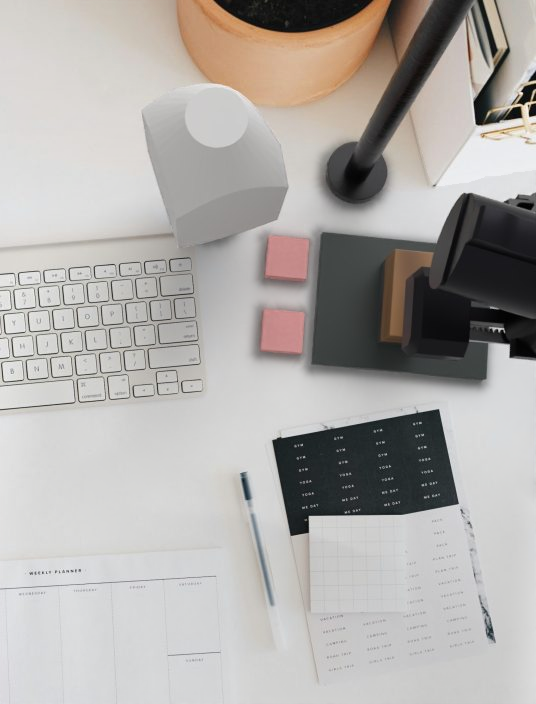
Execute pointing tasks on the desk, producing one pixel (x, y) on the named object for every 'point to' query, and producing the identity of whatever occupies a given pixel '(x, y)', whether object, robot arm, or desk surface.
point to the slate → (371, 312)
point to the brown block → (396, 292)
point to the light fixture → (213, 162)
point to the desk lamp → (394, 105)
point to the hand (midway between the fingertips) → (491, 341)
